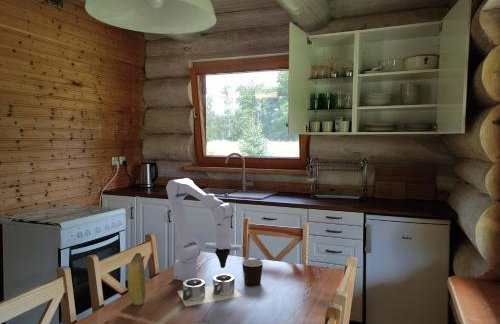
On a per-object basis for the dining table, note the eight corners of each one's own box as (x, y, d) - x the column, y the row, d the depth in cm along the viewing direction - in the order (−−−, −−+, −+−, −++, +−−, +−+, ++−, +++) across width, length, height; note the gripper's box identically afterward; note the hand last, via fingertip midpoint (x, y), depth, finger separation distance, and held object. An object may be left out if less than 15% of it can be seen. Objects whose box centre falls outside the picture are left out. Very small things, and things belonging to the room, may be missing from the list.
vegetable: (134, 311, 135) (132, 256, 134) (124, 306, 140) (123, 253, 138) (148, 305, 140) (147, 252, 138) (138, 300, 144) (137, 249, 142)
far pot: (205, 295, 146) (205, 282, 146) (219, 285, 156) (219, 272, 156) (225, 299, 143) (225, 285, 142) (237, 289, 153) (237, 275, 152)
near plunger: (185, 294, 144) (185, 283, 144) (192, 289, 149) (192, 278, 148) (196, 296, 142) (195, 285, 142) (202, 291, 147) (202, 280, 146)
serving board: (185, 308, 137) (185, 306, 137) (177, 293, 150) (177, 291, 150) (241, 298, 146) (241, 296, 146) (229, 284, 159) (229, 282, 159)
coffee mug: (260, 291, 153) (261, 267, 152) (240, 289, 155) (240, 265, 154) (265, 280, 164) (265, 257, 163) (246, 278, 166) (246, 256, 165)
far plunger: (215, 289, 149) (215, 278, 149) (221, 284, 154) (221, 274, 153) (226, 291, 147) (226, 280, 147) (231, 287, 152) (231, 276, 151)
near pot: (174, 301, 142) (174, 287, 141) (191, 290, 151) (190, 276, 151) (193, 305, 138) (193, 291, 138) (209, 294, 148) (209, 280, 147)
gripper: (202, 235, 148) (202, 269, 149) (238, 237, 145) (238, 272, 146) (208, 230, 155) (208, 262, 156) (242, 232, 152) (242, 265, 153)
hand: (223, 267), depth 152 cm, fingers closed
